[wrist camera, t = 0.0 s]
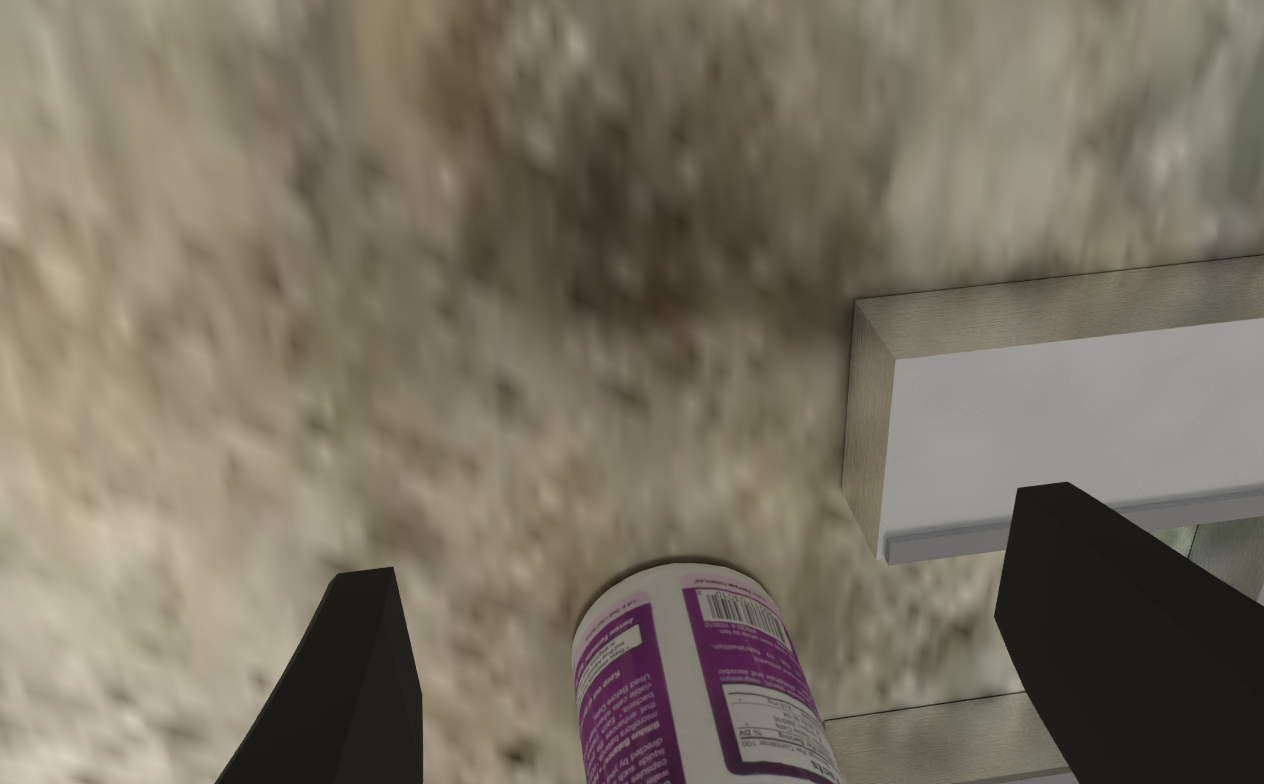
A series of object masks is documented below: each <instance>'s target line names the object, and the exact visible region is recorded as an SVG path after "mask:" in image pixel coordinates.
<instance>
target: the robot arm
mask: <svg viewBox="0 0 1264 784" xmlns="http://www.w3.org/2000/svg"><path fill="white" fill-rule="evenodd" d="M994 618H995V620H996V623H997V625H998V628H999V630H1000V633H1001V635H1002V638H1003V640H1004V642H1005V645H1006V647H1007V650H1008V652H1009V655H1010V657H1011V660H1012V662H1013V664H1014V666H1015V669H1016V671H1017V673H1018V675H1019V678H1020V680H1021V682H1022V684H1023V687H1024V689H1025V691H1026V693H1027V695H1028V697H1029V699H1030V701H1031V702H1032V704H1033V706H1034V708H1035V709H1036V711H1037V713H1038V715H1039V716H1040V718H1041V720H1042V721H1043V723H1044V725H1045V727H1046V728H1047V730H1048V732H1049V733H1050V735H1051V737H1052V739H1053V740H1054V742H1055V744H1056V745H1057V747H1058V749H1059V750H1060V752H1061V754H1062V756H1063V757H1064V759H1065V761H1066V762H1067V764H1068V766H1069V767H1070V769H1071V771H1072V772H1073V774H1074V776H1075V777H1076V779H1077V781H1078V782H1079V784H1264V606H1263V605H1261V604H1259V603H1258V602H1256V601H1254V600H1253V599H1251V598H1249V597H1248V596H1246V595H1244V594H1243V593H1241V592H1240V591H1238V590H1236V589H1235V588H1233V587H1232V586H1230V585H1228V584H1227V583H1225V582H1224V581H1222V580H1220V579H1219V578H1217V577H1216V576H1214V575H1213V574H1211V573H1209V572H1208V571H1206V570H1205V569H1203V568H1202V567H1200V566H1198V565H1197V564H1195V563H1194V562H1192V561H1191V560H1189V559H1188V558H1186V557H1184V556H1183V555H1181V554H1180V553H1178V552H1177V551H1175V550H1174V549H1172V548H1171V547H1169V546H1168V545H1166V544H1165V543H1163V542H1161V541H1160V540H1158V539H1157V538H1155V537H1154V536H1152V535H1151V534H1149V533H1148V532H1146V531H1145V530H1143V529H1142V528H1140V527H1139V526H1137V525H1136V524H1134V523H1133V522H1131V521H1130V520H1128V519H1126V518H1125V517H1123V516H1122V515H1120V514H1119V513H1117V512H1116V511H1114V510H1113V509H1111V508H1110V507H1108V506H1107V505H1105V504H1103V503H1102V502H1100V501H1099V500H1097V499H1096V498H1094V497H1092V496H1091V495H1089V494H1088V493H1086V492H1084V491H1083V490H1081V489H1079V488H1078V487H1076V486H1074V485H1073V484H1071V483H1069V482H1068V481H1067V482H1059V483H1051V484H1043V485H1035V486H1027V487H1019V488H1017V493H1016V498H1015V504H1014V509H1013V515H1012V520H1011V526H1010V531H1009V537H1008V542H1007V548H1006V553H1005V559H1004V564H1003V570H1002V575H1001V581H1000V586H999V592H998V597H997V603H996V608H995V614H994ZM215 784H423V717H422V692H421V688H420V683H419V679H418V674H417V670H416V666H415V661H414V657H413V652H412V648H411V643H410V639H409V634H408V630H407V625H406V621H405V616H404V612H403V607H402V603H401V599H400V594H399V590H398V585H397V581H396V576H395V572H394V567H387V568H379V569H371V570H363V571H355V572H347V573H339V574H337V575H336V576H335V577H334V578H333V580H332V581H331V582H330V583H329V585H328V587H327V589H326V591H325V593H324V596H323V598H322V600H321V602H320V604H319V606H318V608H317V610H316V612H315V614H314V616H313V618H312V620H311V622H310V624H309V626H308V628H307V630H306V632H305V634H304V636H303V638H302V639H301V641H300V643H299V645H298V647H297V649H296V651H295V652H294V654H293V656H292V658H291V660H290V662H289V663H288V665H287V667H286V669H285V671H284V673H283V674H282V676H281V678H280V679H279V681H278V683H277V685H276V686H275V688H274V690H273V691H272V693H271V695H270V696H269V698H268V700H267V702H266V703H265V705H264V707H263V708H262V710H261V712H260V713H259V715H258V717H257V719H256V720H255V722H254V724H253V725H252V727H251V729H250V730H249V732H248V733H247V735H246V737H245V738H244V740H243V741H242V743H241V744H240V746H239V747H238V749H237V750H236V752H235V753H234V755H233V757H232V758H231V760H230V761H229V763H228V764H227V766H226V767H225V769H224V770H223V772H222V773H221V775H220V776H219V778H218V779H217V781H216V782H215Z"/></svg>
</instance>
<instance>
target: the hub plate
mask: <svg viewBox="0 0 1264 784" xmlns="http://www.w3.org/2000/svg"><path fill="white" fill-rule="evenodd" d="M1067 481H1068V482H1069V483H1071V484H1073V485H1074V486H1076V487H1078V488H1079V489H1081V490H1083V491H1084V492H1086V493H1088V494H1089V495H1091V496H1092V497H1094V498H1096V499H1097V500H1099V501H1100V502H1102V503H1103V504H1105V505H1107V506H1108V507H1110V508H1111V509H1113V510H1114V511H1116V512H1117V513H1119V514H1120V515H1122V516H1123V517H1125V518H1126V519H1128V520H1130V521H1131V522H1133V523H1134V524H1136V525H1137V526H1139V527H1140V528H1142V529H1143V530H1145V531H1152V530H1160V529H1168V528H1175V527H1183V526H1190V525H1198V524H1199V526H1198V529H1197V532H1196V536H1195V539H1194V542H1193V545H1192V549H1191V552H1190V555H1189V560H1191V561H1192V562H1194V563H1195V564H1197V565H1198V566H1200V567H1202V568H1203V569H1205V570H1206V571H1208V572H1209V573H1211V574H1213V575H1214V576H1216V577H1217V578H1219V579H1220V580H1222V581H1224V582H1225V583H1227V584H1228V585H1230V586H1232V587H1233V588H1235V589H1236V590H1238V591H1240V592H1241V593H1243V594H1244V595H1246V596H1248V597H1249V598H1251V599H1253V600H1254V601H1256V602H1258V603H1259V604H1261V605H1263V606H1264V255H1262V256H1252V257H1243V258H1234V259H1225V260H1216V261H1206V262H1197V263H1188V264H1179V265H1170V266H1161V267H1151V268H1142V269H1133V270H1124V271H1115V272H1105V273H1096V274H1087V275H1078V276H1069V277H1060V278H1050V279H1041V280H1032V281H1023V282H1014V283H1004V284H995V285H986V286H977V287H968V288H959V289H949V290H940V291H931V292H922V293H913V294H903V295H894V296H885V297H876V298H867V299H858V300H855V305H854V319H853V333H852V347H851V361H850V376H849V390H848V404H847V418H846V432H845V446H844V460H843V475H842V489H841V490H842V492H843V494H844V496H845V498H846V500H847V502H848V504H849V506H850V508H851V510H852V512H853V514H854V516H855V518H856V520H857V522H858V524H859V526H860V528H861V530H862V532H863V534H864V536H865V538H866V540H867V542H868V545H869V547H870V549H871V551H872V553H873V555H874V557H875V559H876V560H882V559H886V561H887V563H888V565H894V564H902V563H909V562H917V561H924V560H932V559H940V558H947V557H955V556H962V555H970V554H978V553H985V552H993V551H1000V550H1006V548H1007V542H1008V537H1009V531H1010V526H1011V520H1012V515H1013V509H1014V504H1015V498H1016V493H1017V488H1019V487H1027V486H1035V485H1043V484H1051V483H1059V482H1067ZM824 731H825V733H826V736H827V738H828V741H829V744H830V747H831V750H832V753H833V755H834V758H835V761H836V763H837V766H838V768H839V771H840V774H841V776H842V779H843V782H844V784H1079V782H1078V781H1077V779H1076V777H1075V776H1074V774H1073V772H1072V771H1071V769H1070V767H1069V766H1068V764H1067V762H1066V761H1065V759H1064V757H1063V756H1062V754H1061V752H1060V750H1059V749H1058V747H1057V745H1056V744H1055V742H1054V740H1053V739H1052V737H1051V735H1050V733H1049V732H1048V730H1047V728H1046V727H1045V725H1044V723H1043V721H1042V720H1041V718H1040V716H1039V715H1038V713H1037V711H1036V709H1035V708H1034V706H1033V704H1032V702H1031V701H1030V699H1029V697H1028V695H1027V693H1026V692H1025V693H1018V694H1011V695H1004V696H997V697H990V698H983V699H976V700H969V701H962V702H955V703H948V704H941V705H934V706H927V707H921V708H914V709H907V710H900V711H893V712H886V713H879V714H872V715H865V716H858V717H851V718H844V719H837V720H830V721H825V729H824Z"/></svg>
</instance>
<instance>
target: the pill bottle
mask: <svg viewBox="0 0 1264 784" xmlns="http://www.w3.org/2000/svg"><path fill="white" fill-rule="evenodd" d="M572 670H573V679H574V687H575V697H576V707H577V713H578V720H579V725H580V738H581V744H582V751H583V760H584V767H585V773H586V781H587V784H844V782H843V779H842V776H841V774H840V771H839V768H838V766H837V763H836V761H835V758H834V755H833V753H832V750H831V747H830V744H829V741H828V738H827V736H826V733H825V731H824V728H823V725H822V722H821V720H820V717H819V714H818V711H817V709H816V706H815V703H814V700H813V698H812V695H811V692H810V689H809V687H808V684H807V681H806V678H805V676H804V674H803V671H802V668H801V666H800V664H799V661H798V658H797V655H796V653H795V650H794V648H793V645H792V642H791V640H790V637H789V634H788V632H787V629H786V626H785V624H784V622H783V619H782V617H781V614H780V612H779V610H778V608H777V606H776V604H775V603H774V601H773V600H772V598H771V597H770V596H769V595H768V594H767V593H766V592H765V591H764V589H763V588H762V587H761V585H760V584H759V583H757V582H756V581H754V580H753V579H751V578H749V577H747V576H745V575H744V574H741V573H739V572H737V571H735V570H732V569H730V568H727V567H721V566H715V565H709V564H697V563H672V564H667V565H661V566H657V567H653V568H650V569H647V570H643V571H640V572H638V573H636V574H634V575H632V576H630V577H628V578H626V579H624V580H623V581H621V582H620V583H618V584H616V585H615V586H613V587H611V588H610V589H609V590H608V591H606V592H605V593H604V594H603V595H602V596H601V597H600V598H599V599H598V600H597V601H596V602H595V603H594V604H593V605H592V606H591V608H590V609H589V610H588V611H587V613H586V615H585V616H584V618H583V620H582V621H581V623H580V625H579V627H578V629H577V631H576V634H575V638H574V641H573V644H572Z"/></svg>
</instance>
